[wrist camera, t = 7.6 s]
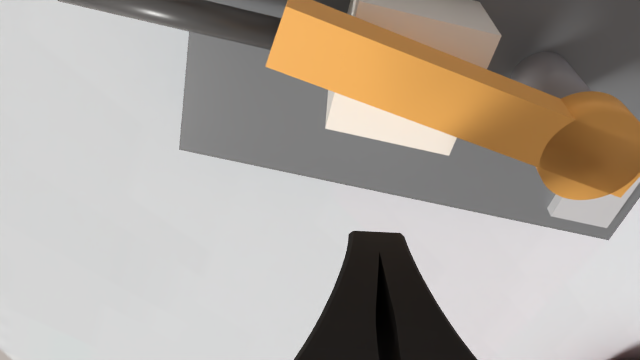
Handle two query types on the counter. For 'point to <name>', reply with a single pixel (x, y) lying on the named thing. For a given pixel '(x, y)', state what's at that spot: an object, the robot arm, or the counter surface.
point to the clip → (463, 100)
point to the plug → (365, 3)
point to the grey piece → (410, 163)
